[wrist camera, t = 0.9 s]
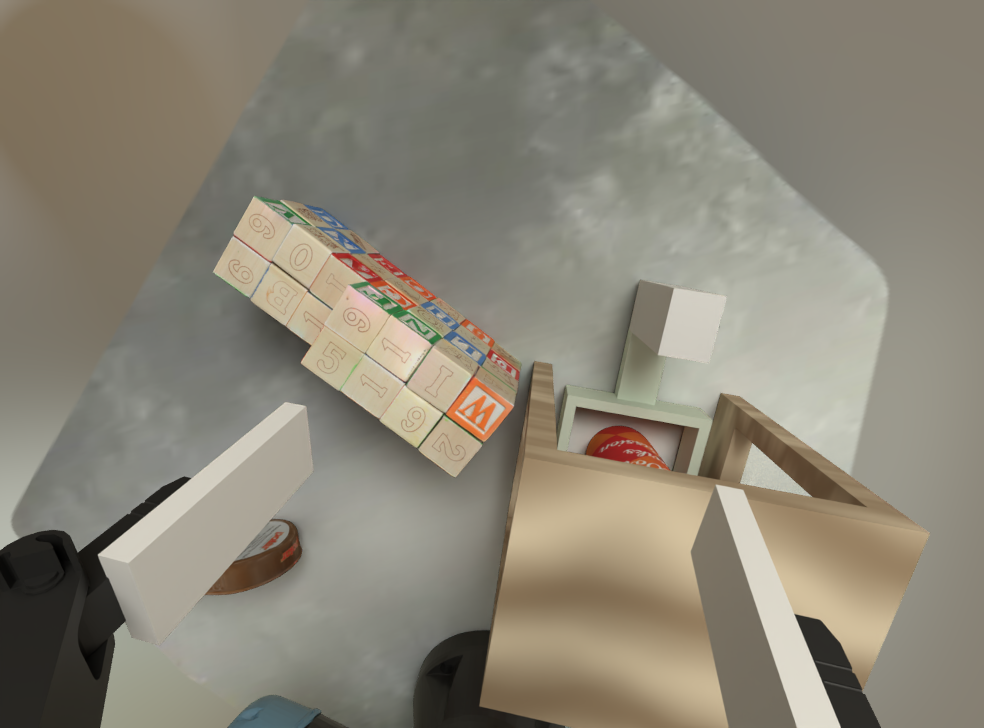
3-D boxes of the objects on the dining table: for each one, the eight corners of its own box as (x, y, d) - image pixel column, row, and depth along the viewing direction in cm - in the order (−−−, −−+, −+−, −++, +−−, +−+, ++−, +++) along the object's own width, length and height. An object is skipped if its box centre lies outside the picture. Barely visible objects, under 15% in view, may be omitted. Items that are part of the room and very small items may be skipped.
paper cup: (682, 444, 40) (753, 542, 26) (629, 511, 41) (669, 634, 28) (605, 395, 39) (636, 468, 26) (555, 465, 41) (559, 566, 28)
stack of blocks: (285, 267, 40) (174, 272, 28) (321, 206, 39) (222, 184, 27) (481, 417, 41) (455, 482, 29) (524, 363, 40) (515, 408, 28)
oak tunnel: (696, 544, 41) (822, 785, 23) (508, 507, 43) (479, 706, 24) (739, 396, 38) (930, 533, 19) (534, 361, 39) (524, 457, 20)
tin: (182, 545, 48) (108, 604, 40) (174, 517, 47) (97, 572, 39) (319, 539, 46) (270, 600, 38) (312, 510, 45) (261, 566, 37)
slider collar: (668, 526, 41) (706, 610, 31) (543, 501, 42) (542, 576, 32) (731, 293, 36) (800, 307, 26) (588, 271, 37) (603, 277, 27)
